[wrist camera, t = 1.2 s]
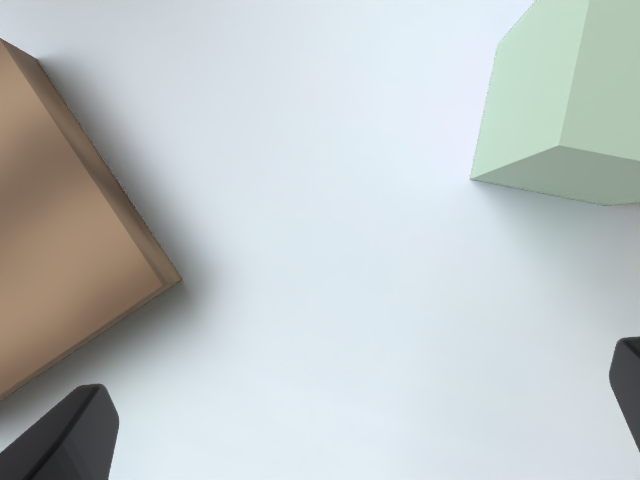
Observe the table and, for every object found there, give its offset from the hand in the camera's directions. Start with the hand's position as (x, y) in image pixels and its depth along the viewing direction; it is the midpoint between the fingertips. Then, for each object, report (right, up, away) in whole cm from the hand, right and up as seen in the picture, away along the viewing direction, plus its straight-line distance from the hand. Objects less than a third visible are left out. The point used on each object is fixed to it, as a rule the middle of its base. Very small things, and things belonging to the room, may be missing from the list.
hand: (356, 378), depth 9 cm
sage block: (+10, +7, +13) cm, 18 cm away
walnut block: (-15, +2, +15) cm, 21 cm away
